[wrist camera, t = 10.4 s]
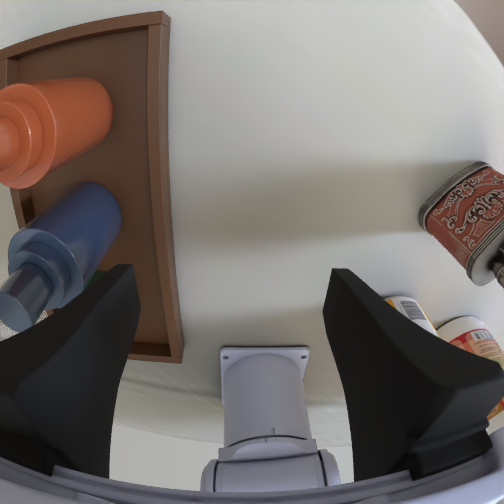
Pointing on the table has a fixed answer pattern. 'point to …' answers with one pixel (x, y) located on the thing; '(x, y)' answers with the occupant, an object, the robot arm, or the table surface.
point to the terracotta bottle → (49, 126)
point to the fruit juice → (480, 343)
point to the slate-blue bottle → (58, 253)
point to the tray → (118, 156)
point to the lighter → (470, 221)
